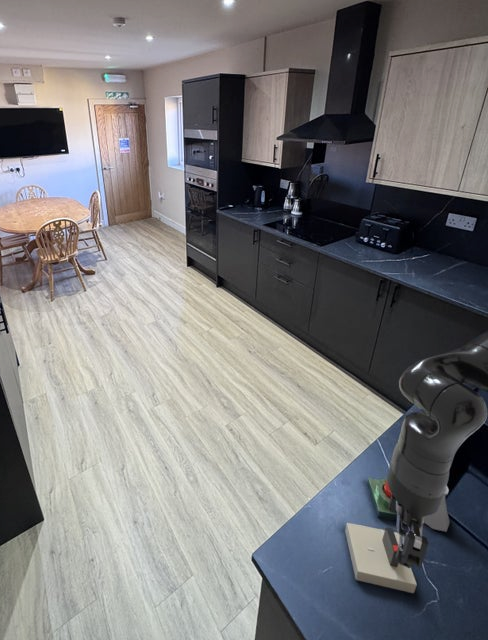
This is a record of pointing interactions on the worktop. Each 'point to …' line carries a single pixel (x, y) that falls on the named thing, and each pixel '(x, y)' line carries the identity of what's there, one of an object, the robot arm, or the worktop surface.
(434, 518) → the flask
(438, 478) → the robot arm
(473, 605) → the worktop surface
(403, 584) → the panel
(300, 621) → the worktop surface
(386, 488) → the power button
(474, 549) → the worktop surface
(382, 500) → the box
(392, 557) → the knob
